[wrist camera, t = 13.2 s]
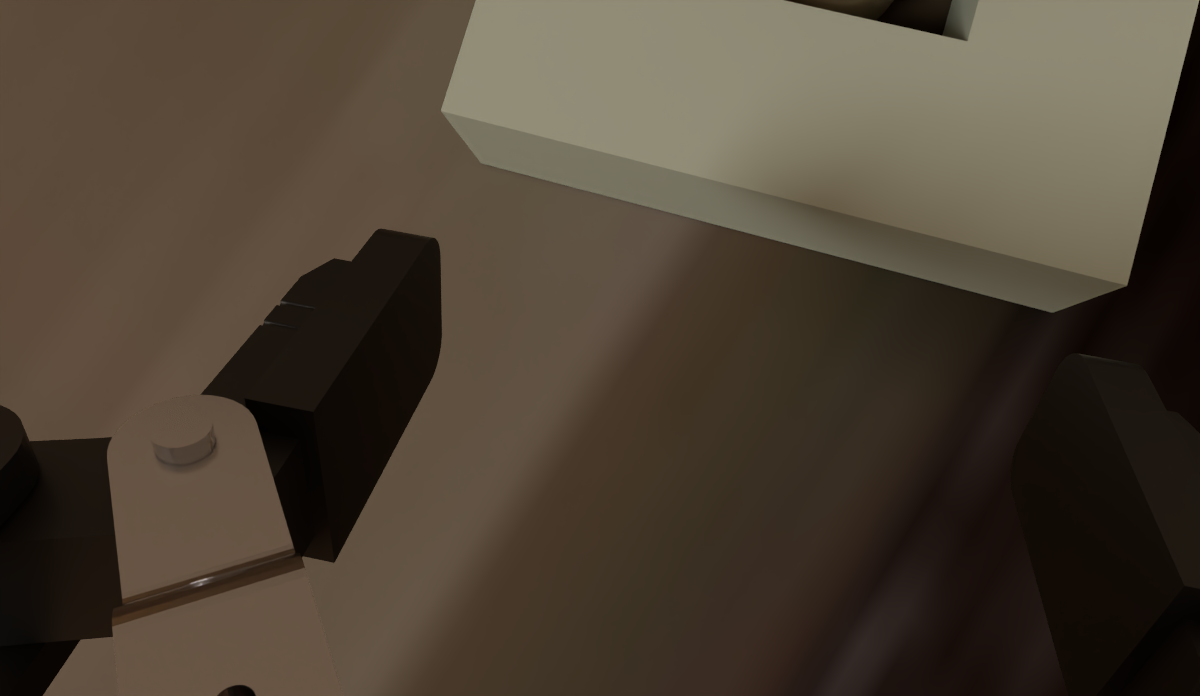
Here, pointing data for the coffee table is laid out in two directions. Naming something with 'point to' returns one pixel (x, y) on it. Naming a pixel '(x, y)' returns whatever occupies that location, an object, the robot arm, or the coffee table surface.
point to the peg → (851, 7)
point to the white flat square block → (848, 125)
